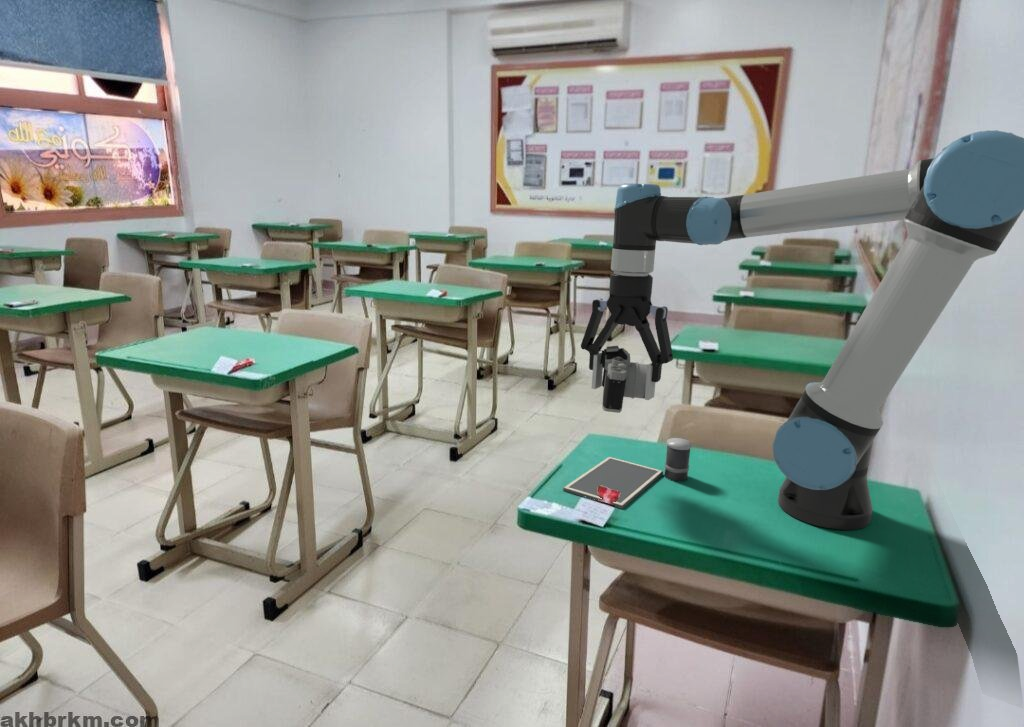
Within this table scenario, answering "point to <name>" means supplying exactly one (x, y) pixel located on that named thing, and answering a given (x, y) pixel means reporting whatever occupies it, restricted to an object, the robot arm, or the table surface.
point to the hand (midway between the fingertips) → (622, 392)
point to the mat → (615, 480)
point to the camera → (621, 378)
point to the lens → (677, 459)
